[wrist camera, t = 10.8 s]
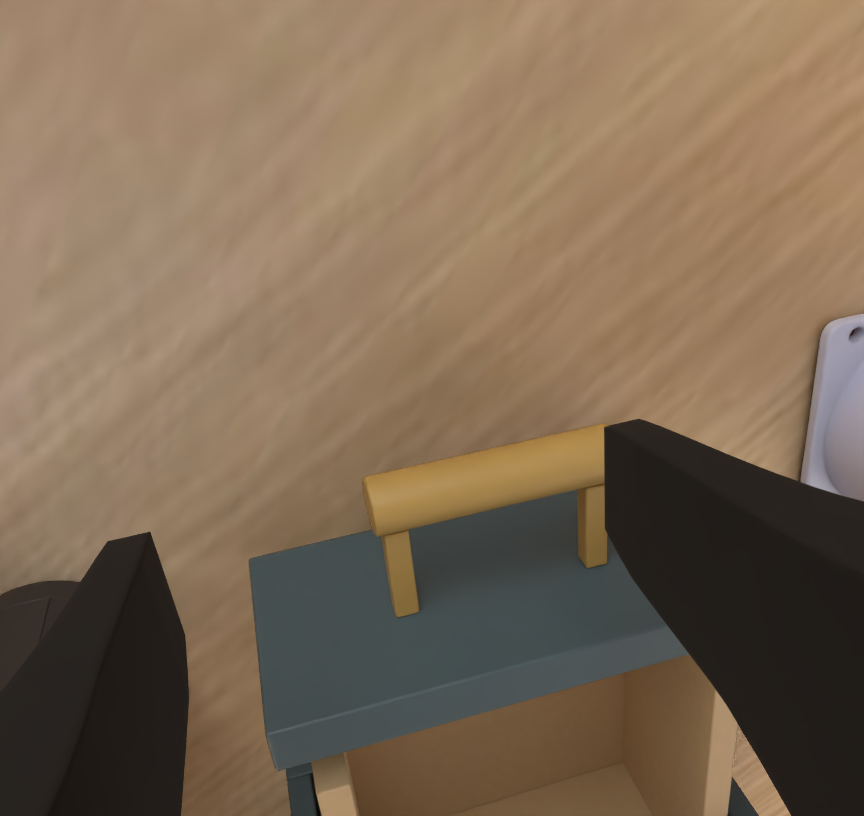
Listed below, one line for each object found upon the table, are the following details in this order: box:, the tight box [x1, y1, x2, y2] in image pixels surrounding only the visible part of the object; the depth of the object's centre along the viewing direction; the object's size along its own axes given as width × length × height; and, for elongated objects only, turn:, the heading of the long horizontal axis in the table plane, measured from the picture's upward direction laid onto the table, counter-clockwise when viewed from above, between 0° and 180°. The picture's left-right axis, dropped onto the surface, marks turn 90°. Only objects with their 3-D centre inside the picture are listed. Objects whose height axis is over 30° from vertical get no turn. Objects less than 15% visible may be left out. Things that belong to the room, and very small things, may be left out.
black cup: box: [0, 581, 80, 692], centre depth 20 cm, size 5×5×8 cm
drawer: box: [249, 424, 738, 816], centre depth 23 cm, size 16×12×6 cm
